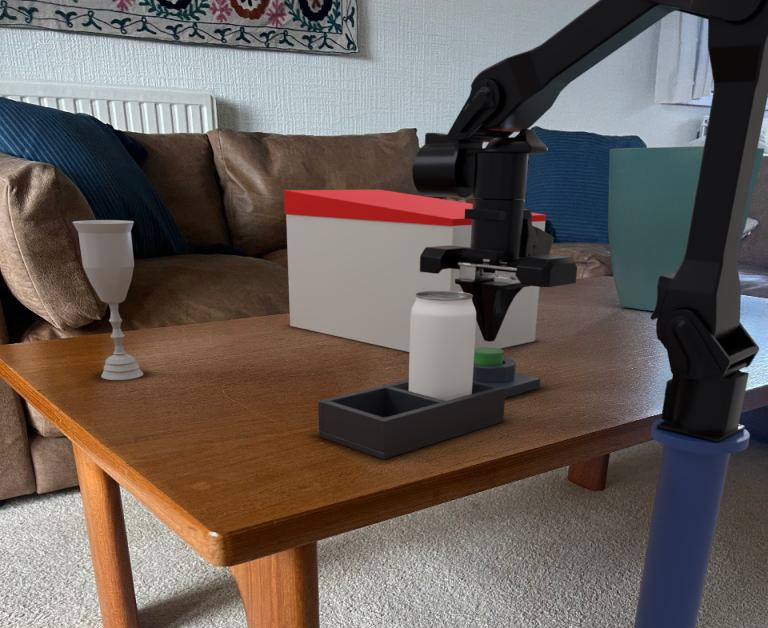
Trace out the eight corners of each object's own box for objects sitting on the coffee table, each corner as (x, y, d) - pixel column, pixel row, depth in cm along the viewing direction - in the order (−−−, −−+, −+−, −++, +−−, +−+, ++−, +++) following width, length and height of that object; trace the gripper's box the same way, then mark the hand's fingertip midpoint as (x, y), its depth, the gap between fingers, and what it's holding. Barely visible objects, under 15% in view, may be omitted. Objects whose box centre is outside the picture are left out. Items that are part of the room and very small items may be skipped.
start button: (508, 365, 94) (510, 350, 93) (490, 369, 91) (491, 355, 91) (485, 360, 96) (486, 346, 95) (466, 364, 94) (467, 350, 93)
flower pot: (589, 307, 152) (607, 147, 141) (643, 297, 164) (664, 149, 153) (685, 320, 139) (714, 145, 127) (736, 309, 151) (766, 148, 140)
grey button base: (539, 388, 94) (542, 363, 93) (498, 400, 89) (500, 374, 88) (475, 373, 101) (476, 350, 99) (433, 383, 95) (434, 359, 94)
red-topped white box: (377, 312, 143) (378, 189, 135) (534, 340, 121) (547, 195, 112) (288, 325, 130) (283, 190, 122) (446, 360, 107) (453, 197, 99)
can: (432, 426, 77) (437, 301, 72) (395, 410, 82) (398, 292, 77) (483, 416, 80) (491, 296, 75) (444, 401, 85) (449, 288, 80)
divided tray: (503, 421, 81) (505, 387, 80) (383, 459, 70) (384, 421, 69) (438, 403, 87) (439, 372, 86) (318, 436, 76) (317, 400, 75)
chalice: (91, 370, 99) (70, 220, 92) (146, 366, 102) (130, 219, 95) (96, 384, 93) (74, 224, 86) (154, 379, 96) (137, 223, 89)
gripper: (612, 201, 85) (595, 343, 92) (479, 196, 98) (472, 322, 104) (553, 202, 78) (539, 357, 84) (418, 197, 90) (414, 332, 97)
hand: (489, 340), depth 93 cm, fingers closed
